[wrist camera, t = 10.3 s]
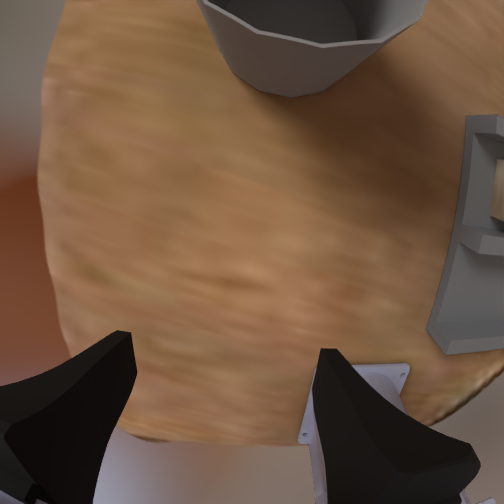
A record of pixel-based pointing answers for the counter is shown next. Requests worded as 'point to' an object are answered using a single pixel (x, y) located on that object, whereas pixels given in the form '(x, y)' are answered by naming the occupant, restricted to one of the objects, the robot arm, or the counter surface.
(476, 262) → the gray i-beam stand
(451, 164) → the counter surface
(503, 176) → the peg
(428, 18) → the counter surface
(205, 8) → the cup
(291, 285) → the counter surface
